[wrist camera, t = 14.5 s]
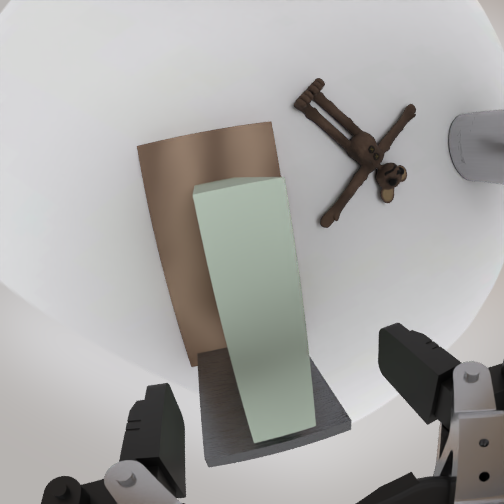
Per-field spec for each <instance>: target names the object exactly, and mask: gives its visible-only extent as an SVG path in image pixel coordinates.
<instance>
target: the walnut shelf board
mask: <svg viewBox="0 0 504 504" xmlns="http://www.w3.org/2000/svg"><path fill="white" fill-rule="evenodd" d="M137 149H138V155H139V161H140V167H141V172H142V177H143V183H144V188H145V193H146V198H147V203H148V207H149V212H150V217H151V221H152V226H153V230H154V234H155V239H156V243H157V247H158V251H159V255H160V259H161V263H162V267H163V271H164V275H165V279H166V283H167V286H168V290H169V294H170V297H171V301H172V305H173V308H174V312H175V315H176V319H177V322H178V325H179V329H180V332H181V335H182V339H183V342H184V345H185V348H186V351H187V354H188V358H189V361H190V364H191V367H195V366H198V357H197V353H202V352H207V351H212V350H217V349H221V348H226V347H227V343H226V340H225V336H224V332H223V328H222V324H221V320H220V316H219V311H218V307H217V303H216V299H215V295H214V291H213V286H212V282H211V278H210V273H209V269H208V265H207V260H206V256H205V251H204V247H203V242H202V237H201V233H200V228H199V223H198V219H197V214H196V209H195V204H194V199H193V190H194V186H195V185H199V184H204V183H209V182H214V181H219V180H224V179H229V178H234V177H281V175H280V169H279V163H278V157H277V151H276V145H275V140H274V134H273V128H272V123H271V122H263V123H255V124H248V125H241V126H235V127H228V128H222V129H216V130H211V131H205V132H200V133H195V134H189V135H184V136H180V137H175V138H170V139H166V140H161V141H157V142H153V143H148V144H144V145H140V146H137Z"/></svg>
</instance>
